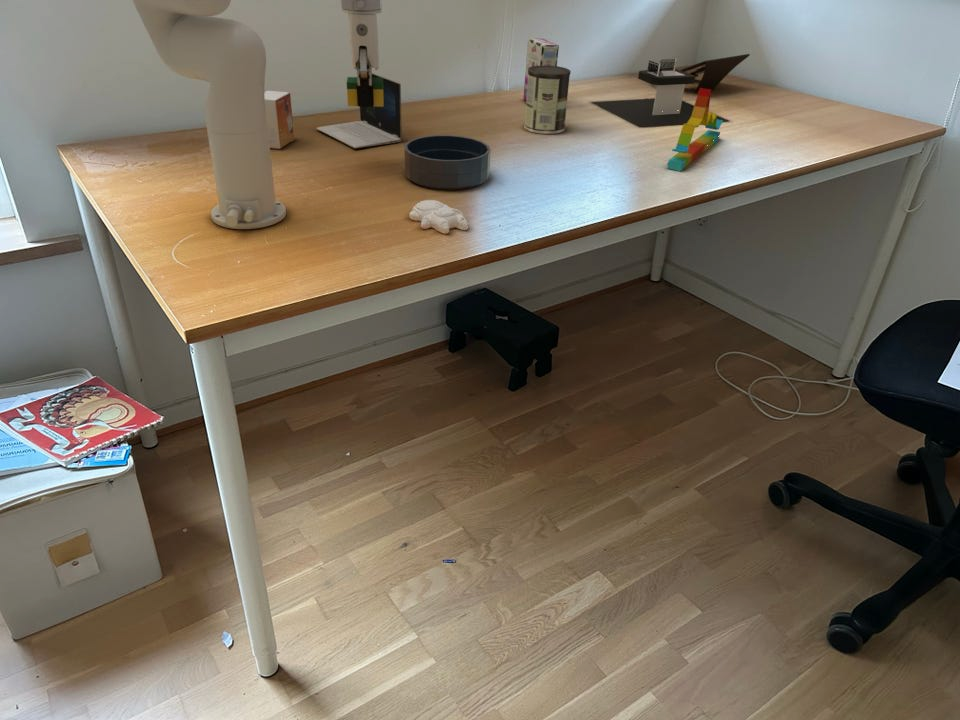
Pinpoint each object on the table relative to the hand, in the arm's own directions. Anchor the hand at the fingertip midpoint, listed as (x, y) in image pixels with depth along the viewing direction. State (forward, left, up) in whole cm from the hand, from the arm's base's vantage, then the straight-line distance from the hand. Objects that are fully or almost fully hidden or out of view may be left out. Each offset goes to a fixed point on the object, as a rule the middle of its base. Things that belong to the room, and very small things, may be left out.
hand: (365, 101), depth 147 cm
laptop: (+21, +2, -13) cm, 25 cm away
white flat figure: (-31, -12, -13) cm, 36 cm away
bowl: (-7, -16, -13) cm, 22 cm away
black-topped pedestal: (+47, -79, -13) cm, 93 cm away
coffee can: (+29, -43, -13) cm, 54 cm away
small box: (+15, +21, -13) cm, 29 cm away
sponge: (0, 0, 0) cm, 0 cm away
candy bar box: (+53, -46, -13) cm, 72 cm away
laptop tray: (+77, -100, -13) cm, 127 cm away
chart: (+9, -75, -13) cm, 77 cm away
